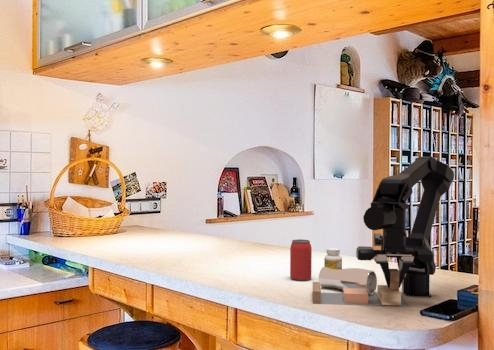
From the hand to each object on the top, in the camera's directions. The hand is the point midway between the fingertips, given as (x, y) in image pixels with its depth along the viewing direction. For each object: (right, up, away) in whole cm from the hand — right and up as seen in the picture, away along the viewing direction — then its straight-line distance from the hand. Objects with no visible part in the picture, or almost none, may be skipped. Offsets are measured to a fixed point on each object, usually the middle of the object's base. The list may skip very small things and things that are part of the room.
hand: (393, 287), depth 137 cm
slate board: (-8, -4, +3) cm, 10 cm away
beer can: (-21, -4, +29) cm, 36 cm away
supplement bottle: (-11, -4, +28) cm, 30 cm away
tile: (-10, -4, +1) cm, 10 cm away
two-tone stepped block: (-1, -3, 0) cm, 4 cm away
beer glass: (-16, -1, +17) cm, 23 cm away
